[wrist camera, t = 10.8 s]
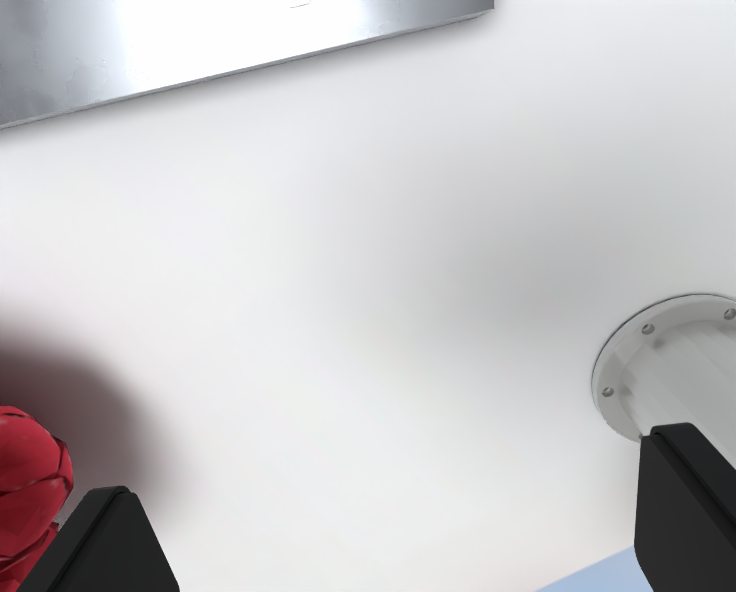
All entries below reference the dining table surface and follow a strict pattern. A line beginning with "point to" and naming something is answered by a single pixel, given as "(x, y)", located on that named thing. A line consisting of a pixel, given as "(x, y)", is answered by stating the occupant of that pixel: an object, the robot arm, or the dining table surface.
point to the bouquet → (28, 492)
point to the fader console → (179, 43)
